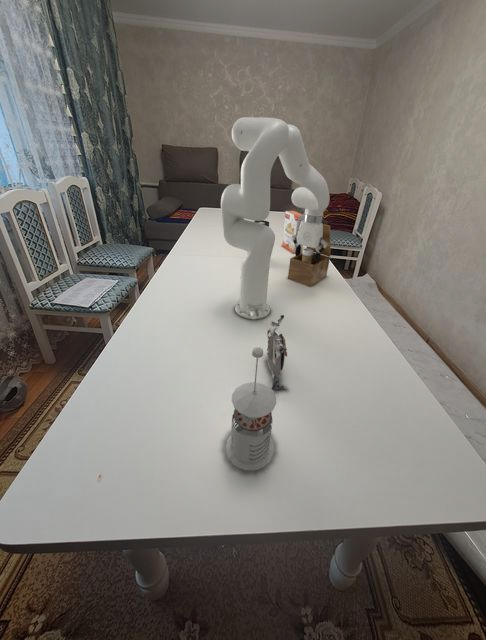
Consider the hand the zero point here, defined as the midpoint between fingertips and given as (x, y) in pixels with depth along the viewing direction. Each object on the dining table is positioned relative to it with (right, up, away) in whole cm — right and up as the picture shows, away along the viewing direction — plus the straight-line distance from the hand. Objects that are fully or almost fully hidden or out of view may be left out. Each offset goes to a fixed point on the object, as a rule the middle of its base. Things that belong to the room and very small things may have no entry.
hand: (306, 258), depth 129 cm
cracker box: (-3, +11, +43) cm, 44 cm away
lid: (+5, +9, +2) cm, 10 cm away
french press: (-22, -49, -70) cm, 88 cm away
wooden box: (+1, -8, +8) cm, 11 cm away
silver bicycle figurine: (-16, -38, -50) cm, 65 cm away
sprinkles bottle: (-1, -9, +5) cm, 10 cm away
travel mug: (-22, +2, +23) cm, 31 cm away
